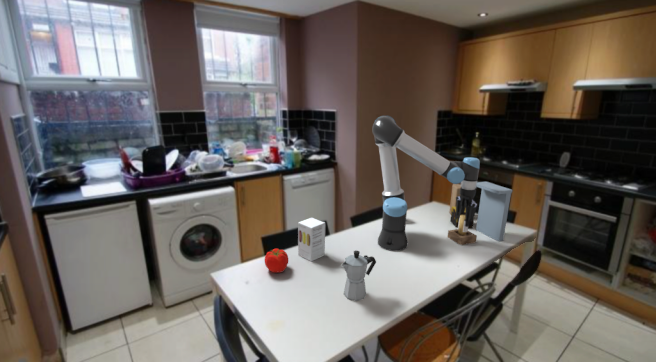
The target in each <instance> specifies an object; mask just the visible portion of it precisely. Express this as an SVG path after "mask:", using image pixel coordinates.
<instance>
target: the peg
mask: <svg viewBox="0 0 656 362" xmlns="http://www.w3.org/2000/svg"><path fill="white" fill-rule="evenodd" d="M464 220H465V215H463V214H462V215H460V222H459V230H458V234H460V235H466V232H463V226H464Z"/></svg>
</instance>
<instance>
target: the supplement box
mask: <svg viewBox="0 0 656 362" xmlns="http://www.w3.org/2000/svg"><path fill="white" fill-rule="evenodd" d="M297 226H298V227H297V228H298V229H297V234H298V235H297V237H298V238H297V244H298V245H297V252H298V256H299V257H302V258H303V259H305V260H307V261H309V262H314V261H315V260H318V259H319V258H321V257H323V256H325V255H326V250H325V249H326V222H325V221H321V220H319V219H316V218H314V217H309V218H307V219H304V220H301V221H298V225H297Z"/></svg>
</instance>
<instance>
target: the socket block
mask: <svg viewBox="0 0 656 362" xmlns="http://www.w3.org/2000/svg"><path fill="white" fill-rule="evenodd" d="M477 237H478V236H477V234H475V233H473V232H471V231H470V230H468V232H466V235H460V234H458V228H455V229H449V230H448V231H447V238H448V239H450V240H451V241H453V242H454V243H457V244H458V245H459V246H463V245H469V244H470V245H471V244H476V243H477Z"/></svg>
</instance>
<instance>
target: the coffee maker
mask: <svg viewBox="0 0 656 362" xmlns="http://www.w3.org/2000/svg"><path fill="white" fill-rule="evenodd" d="M376 263H377V260H376V258H375V257H374V256H373V255H372V256H368V255H363V256H362V255H360V251H359V250H353V254H350V255H348V256H346V257H344V261H343V263H341V265H340V266H341V267H342V268H343V269H344V271H345V273H346V281H345V287H344V291H343V295H344V297H345V298H346V299H347V300H350V301H353V302H358V301H361V300H364V299H365V298H366V296H367V289H366V281H365V277H366V275H367V276H370V274H371V273H372V271H373V269H374V267H375V265H376ZM369 264H370V265H369ZM368 265H369V266H368Z"/></svg>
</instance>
